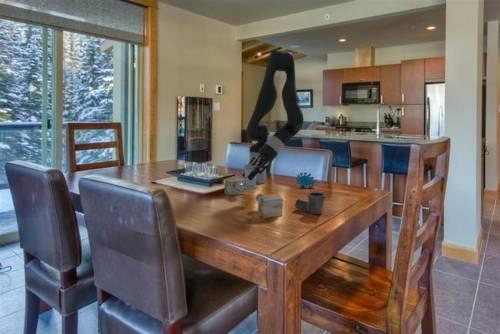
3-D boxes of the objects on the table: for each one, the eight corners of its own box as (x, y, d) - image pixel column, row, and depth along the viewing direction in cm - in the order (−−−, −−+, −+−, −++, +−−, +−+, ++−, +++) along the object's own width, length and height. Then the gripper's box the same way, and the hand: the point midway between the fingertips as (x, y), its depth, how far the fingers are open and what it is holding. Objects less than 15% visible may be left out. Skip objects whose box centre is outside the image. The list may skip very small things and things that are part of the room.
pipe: (300, 207, 148) (300, 189, 146) (328, 213, 140) (329, 194, 139) (292, 211, 143) (292, 191, 142) (320, 217, 135) (321, 196, 134)
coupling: (242, 187, 154) (242, 164, 153) (253, 186, 157) (253, 164, 155) (247, 189, 150) (247, 166, 148) (258, 188, 152) (258, 165, 150)
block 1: (224, 193, 172) (224, 179, 171) (239, 191, 175) (239, 177, 174) (228, 195, 167) (228, 181, 166) (243, 193, 171) (243, 179, 170)
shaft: (255, 202, 145) (255, 194, 144) (263, 201, 146) (263, 193, 145) (263, 207, 138) (263, 198, 138) (271, 206, 140) (271, 197, 139)
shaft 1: (232, 189, 168) (232, 182, 167) (239, 188, 169) (239, 181, 169) (238, 192, 162) (238, 185, 161) (245, 192, 163) (245, 184, 163)
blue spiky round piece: (296, 185, 182) (296, 170, 188) (293, 191, 187) (294, 176, 193) (317, 189, 182) (317, 173, 188) (314, 194, 187) (314, 179, 193)
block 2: (258, 214, 138) (258, 196, 137) (276, 212, 141) (276, 195, 140) (263, 218, 133) (264, 200, 132) (282, 215, 137) (282, 197, 135)
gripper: (259, 141, 160) (234, 169, 157) (274, 144, 147) (247, 175, 144) (269, 152, 162) (245, 180, 160) (284, 156, 150) (259, 186, 147)
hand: (246, 177), depth 152 cm, fingers closed on coupling, 4 cm apart
